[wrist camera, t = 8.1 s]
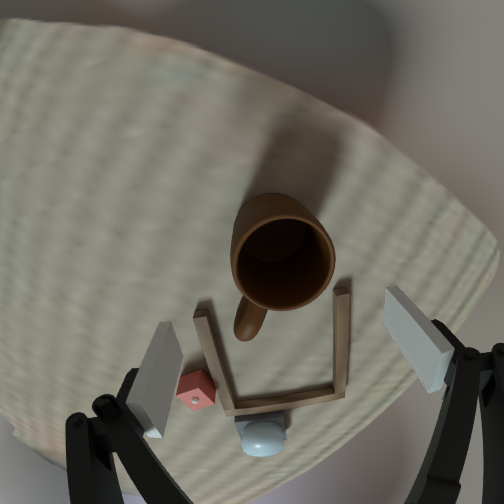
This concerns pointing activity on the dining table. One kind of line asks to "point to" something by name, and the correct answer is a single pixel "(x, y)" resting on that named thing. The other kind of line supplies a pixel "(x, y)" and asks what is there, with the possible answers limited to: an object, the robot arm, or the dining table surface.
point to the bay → (286, 401)
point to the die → (196, 390)
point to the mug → (277, 259)
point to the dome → (262, 439)
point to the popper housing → (260, 420)
